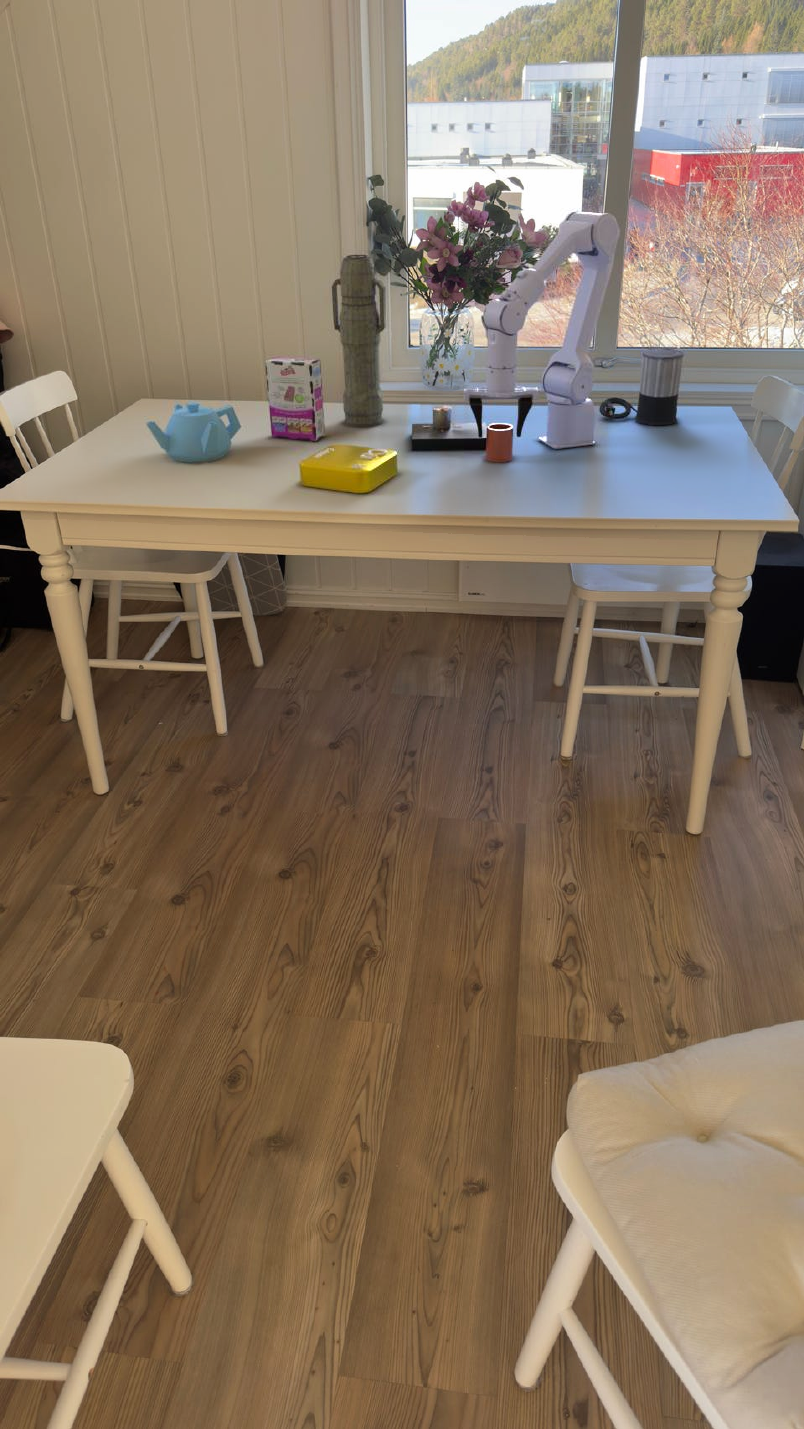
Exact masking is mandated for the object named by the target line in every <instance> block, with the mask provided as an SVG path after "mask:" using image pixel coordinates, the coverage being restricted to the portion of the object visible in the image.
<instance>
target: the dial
mask: <svg viewBox="0 0 804 1429" xmlns="http://www.w3.org/2000/svg"><path fill="white" fill-rule="evenodd" d="M451 423H452V406H449V405H436V406H433V407H432V424H433V428H436V429H448V428H451Z"/></svg>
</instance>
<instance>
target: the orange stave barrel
mask: <svg viewBox="0 0 804 1429" xmlns="http://www.w3.org/2000/svg"><path fill="white" fill-rule="evenodd" d="M486 428H487V431H486V450H485V460H486V461H488V462H489V463H490V462H491V463H501V464H502V463H508V462H511V461H512V460H513V448H514V443H513V442H514V440H513V439H514V426H513V424H510V423H502V422H500V423H499V422H498V423H497V422H495V423H490V424H488V425H486Z"/></svg>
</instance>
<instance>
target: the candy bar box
mask: <svg viewBox="0 0 804 1429" xmlns="http://www.w3.org/2000/svg"><path fill="white" fill-rule="evenodd" d="M264 364H265V375H266V387H267V399H268V409H269V421H270V432H271V437H272V438H275V439H286V440H298V441H310V442H317V441H318V440H320V439H322V438H324V437H325V436H326V429H325V428H326V426H325V412H324V411H325V410H324V397H323V396H324V395H323V382H322V381H323V380H322V363H321V359H319V358H317V359H316V358H299V357H281V356H280V357H279V356H275V357H272V358H269V359H267V360H265V361H264Z"/></svg>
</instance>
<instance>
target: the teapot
mask: <svg viewBox="0 0 804 1429" xmlns="http://www.w3.org/2000/svg"><path fill="white" fill-rule="evenodd" d="M223 416H226V417H227V421H228V422H229V424H228V425H226V424H225V423H224V421H223V420H222V417H223ZM145 425H146V427H147V428H148V429H149V431H150V432H151V434H152V436H153V437H154V439H155V441H156V442H157V443H158V445H159V447H160V448H161V449H162V450H164V451H165V453H166V454H167V455H168V456H169V457H170V458H171V459H172V460H174V461H176V462H180V463H187V464H192V463H193V464H197V463H206V462H211V461H216V460H219V459H221V458H224V457H225V456H226V455H227V453H228V452H229V451H230V449H231V447H232V439H233V438H234V437H235V435H236V434H237V433H238V432H239V430H240V429H241V428H242V425H241V423H240V420H239V418H238V416H237V414H236V411H235V409H234V407H233V406H232V405H230V404H228V405H225V406H223V407H219V408H216V409H213V408H211V407H209V406H200V402H199V401H189V402H186V403H185V407H183V405H182V404H180V403H176V404H174V411H173V412H172V414H171V416H170V418H169V420H168V422H167V425H166V427H165V430H164V431H163V430H162V429H161V427H160V426H159V425H158V424H157V423H156V421H154V420H151V421H147V422H145Z"/></svg>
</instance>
